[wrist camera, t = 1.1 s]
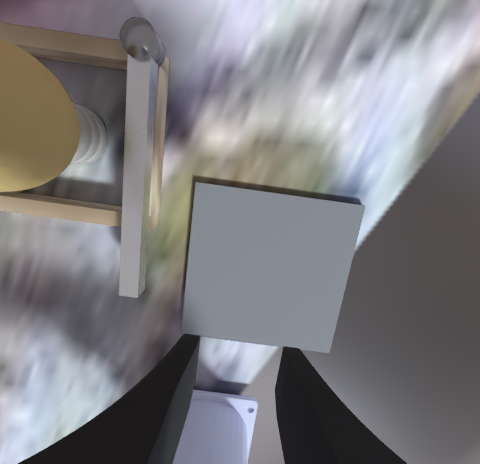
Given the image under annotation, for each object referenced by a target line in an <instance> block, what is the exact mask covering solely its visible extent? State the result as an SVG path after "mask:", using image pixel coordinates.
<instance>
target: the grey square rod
mask: <svg viewBox="0 0 480 464" xmlns="http://www.w3.org/2000/svg"><path fill="white" fill-rule="evenodd" d="M120 41H121V44H122V46H123V48H124V50H125V51H126V52H127V53H128V62H127V89H126V116H125V143H124V170H123V197H122V224H121V251H120V278H119V296H127V297H134V298H138V297H139V296H140V294H141V293H142V292H143V291H144V288H145V271H146V254H147V238H148V221H149V205H150V188H151V172H152V155H153V138H154V122H155V105H156V89H157V72H158V68H159V67H160V66H161V65H162V64H163V62H164V60H165V56H166V52H165V47H164V45H163V43H162V41H161V40H160V38H159V36H158V35H157V33H156V32H155V30H154V29H153V27H152V26H151V24H150V23H149V22H148V21H147V20H145V19H143V18H140V17H132V18H130V19H128V20H127V21H125V23H124V24H123V25H122V27H121V31H120Z"/></svg>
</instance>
